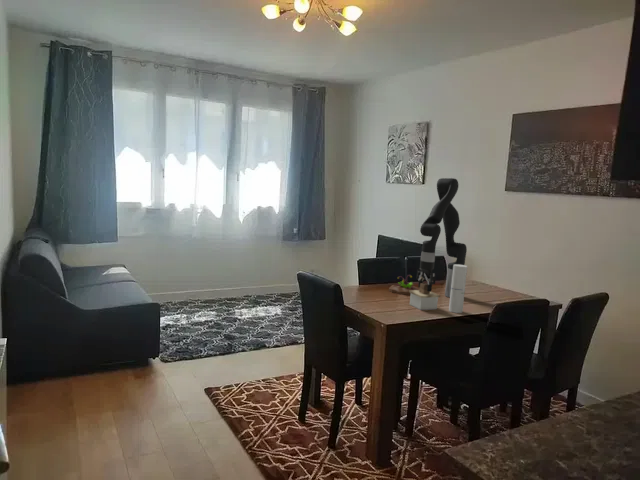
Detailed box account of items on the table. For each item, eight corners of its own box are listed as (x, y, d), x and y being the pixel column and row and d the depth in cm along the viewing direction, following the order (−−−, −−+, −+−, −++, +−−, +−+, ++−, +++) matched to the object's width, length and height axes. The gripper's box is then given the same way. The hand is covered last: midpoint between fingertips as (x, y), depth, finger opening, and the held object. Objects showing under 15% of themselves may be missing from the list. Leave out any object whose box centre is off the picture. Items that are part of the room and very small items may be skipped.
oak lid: (427, 291, 262) (428, 281, 261) (440, 297, 250) (441, 286, 250) (408, 292, 257) (409, 281, 256) (421, 297, 246) (422, 286, 245)
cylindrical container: (446, 309, 254) (451, 264, 251) (459, 309, 254) (464, 264, 251) (451, 312, 247) (456, 266, 244) (464, 313, 247) (469, 267, 244)
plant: (418, 297, 277) (420, 279, 276) (386, 292, 284) (387, 274, 283) (423, 291, 296) (425, 274, 294) (393, 286, 303) (395, 269, 301)
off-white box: (425, 304, 262) (426, 292, 261) (436, 309, 252) (438, 296, 251) (409, 304, 258) (410, 292, 257) (420, 310, 248) (421, 297, 247)
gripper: (441, 262, 246) (438, 292, 248) (425, 257, 259) (423, 286, 261) (429, 262, 244) (426, 292, 245) (414, 257, 257) (411, 286, 259)
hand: (424, 289), depth 253 cm, fingers open, 8 cm apart
